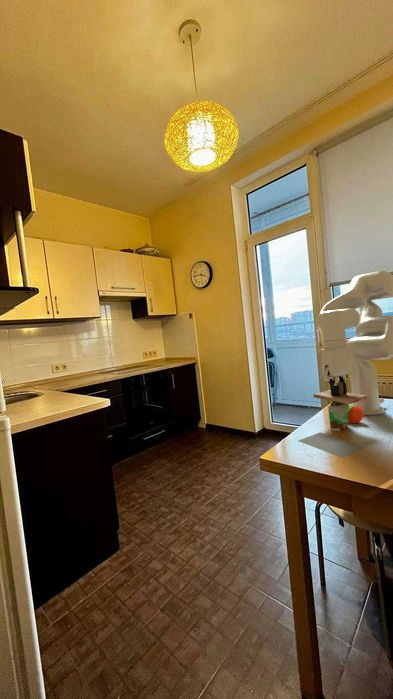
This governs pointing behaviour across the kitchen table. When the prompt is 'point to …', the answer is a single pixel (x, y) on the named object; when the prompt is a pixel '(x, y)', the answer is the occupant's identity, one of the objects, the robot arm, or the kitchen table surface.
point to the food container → (338, 416)
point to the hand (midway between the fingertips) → (338, 394)
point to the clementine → (354, 414)
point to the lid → (341, 396)
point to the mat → (332, 444)
